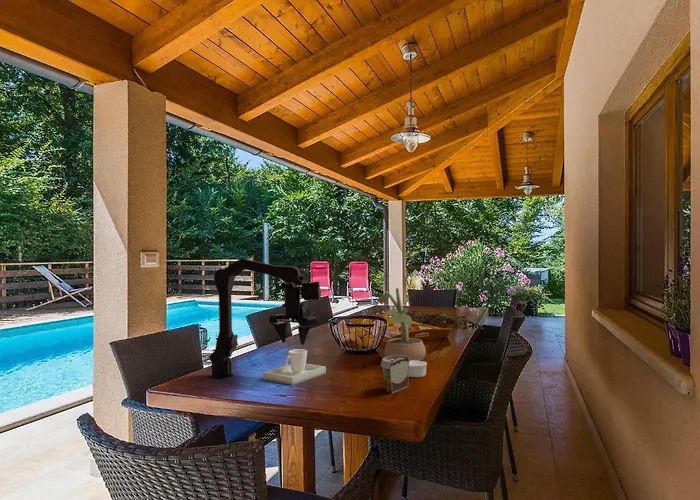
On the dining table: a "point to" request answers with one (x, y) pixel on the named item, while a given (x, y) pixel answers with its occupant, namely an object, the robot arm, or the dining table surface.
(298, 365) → the cup
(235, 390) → the dining table surface
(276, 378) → the tray
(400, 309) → the potted plant
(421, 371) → the ramekin
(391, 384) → the food container
